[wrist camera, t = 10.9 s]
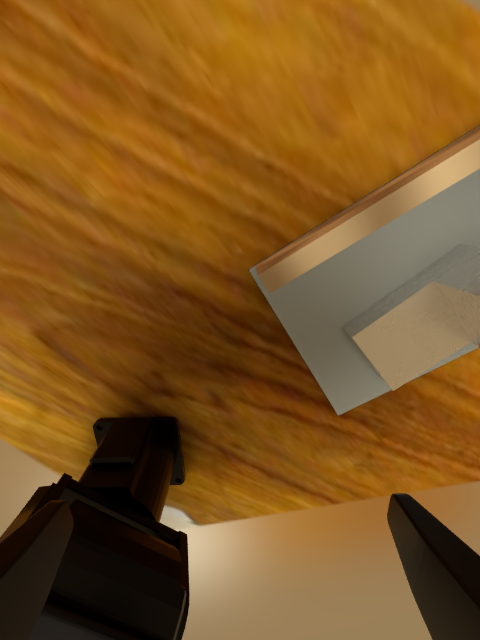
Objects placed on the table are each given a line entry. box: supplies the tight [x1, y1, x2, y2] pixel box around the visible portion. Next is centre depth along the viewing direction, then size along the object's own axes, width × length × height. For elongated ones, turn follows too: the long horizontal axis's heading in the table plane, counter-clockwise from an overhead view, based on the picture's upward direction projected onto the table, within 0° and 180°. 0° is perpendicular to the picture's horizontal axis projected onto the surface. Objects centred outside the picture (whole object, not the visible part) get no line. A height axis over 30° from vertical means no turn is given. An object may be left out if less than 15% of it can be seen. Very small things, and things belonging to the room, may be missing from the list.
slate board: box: [249, 125, 480, 416], centre depth 19 cm, size 16×13×1 cm
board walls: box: [256, 127, 480, 293], centre depth 17 cm, size 15×10×4 cm, turn 122°
